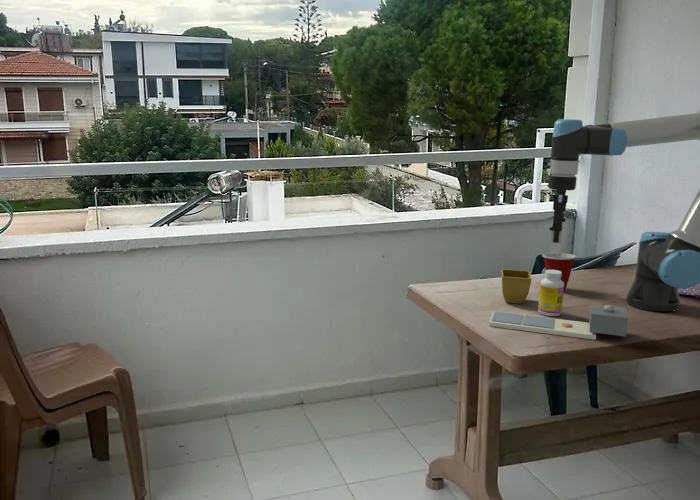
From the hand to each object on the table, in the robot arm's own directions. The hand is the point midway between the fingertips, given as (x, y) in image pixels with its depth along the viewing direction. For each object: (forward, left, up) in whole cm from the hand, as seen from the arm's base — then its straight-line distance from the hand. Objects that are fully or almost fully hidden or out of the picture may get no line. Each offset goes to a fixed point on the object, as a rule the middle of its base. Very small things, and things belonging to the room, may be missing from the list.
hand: (555, 248), depth 186 cm
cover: (-15, +13, -18) cm, 27 cm away
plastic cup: (-1, -27, -20) cm, 34 cm away
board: (+1, +13, -20) cm, 24 cm away
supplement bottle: (0, 0, -20) cm, 20 cm away
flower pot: (+11, -8, -20) cm, 24 cm away
